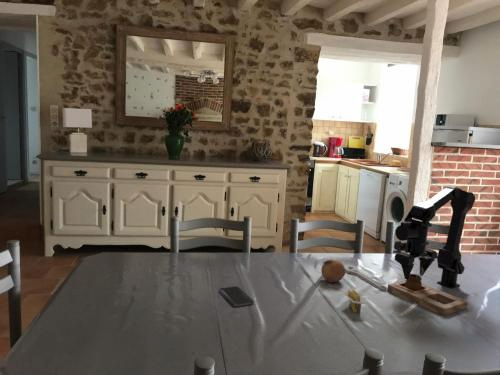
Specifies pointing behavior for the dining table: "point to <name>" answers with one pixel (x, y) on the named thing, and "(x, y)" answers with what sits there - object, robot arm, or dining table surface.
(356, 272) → the adjustable wrench
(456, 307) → the double window frame
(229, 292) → the phone
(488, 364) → the dining table surface
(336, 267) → the onion
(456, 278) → the robot arm
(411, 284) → the utensil holder
